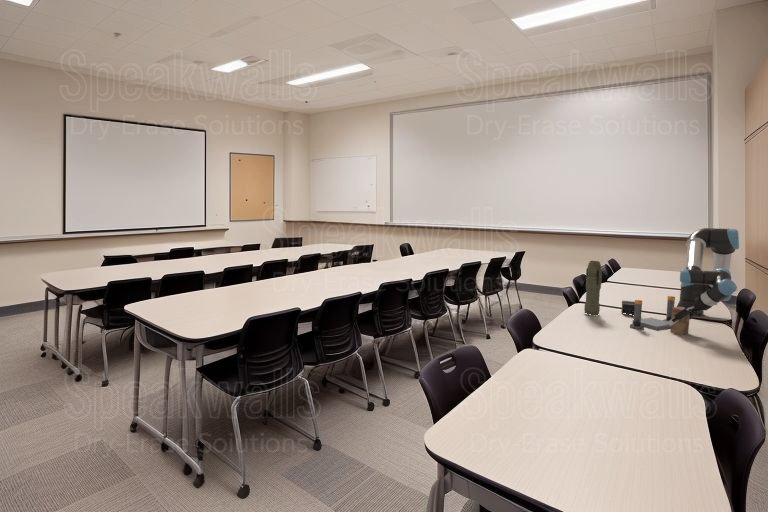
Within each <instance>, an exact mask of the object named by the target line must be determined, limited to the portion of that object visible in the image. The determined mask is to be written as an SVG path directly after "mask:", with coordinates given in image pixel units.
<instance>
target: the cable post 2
mask: <svg viewBox="0 0 768 512" xmlns="http://www.w3.org/2000/svg"><path fill="white" fill-rule="evenodd" d="M666 299H667V302H666V303H667V304H666V315H665V316H666V317H665V319H662V320H663V321H667V322H668V321H670V320H671V317H672V316H671V315H672V307H675V305H676V303H675V302H676V301H675V300H676V296H673V295H672V296H671V295H668V296H667V298H666Z"/></svg>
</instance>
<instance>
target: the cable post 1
mask: <svg viewBox="0 0 768 512" xmlns="http://www.w3.org/2000/svg"><path fill="white" fill-rule="evenodd" d="M634 302H635V308H634V316H633V320H634V322H633V321H632V323H631V324H629V328H631V329H633V330H644V328H645V327H644V326H642V325H641V319H642V310H643V308H642V307H643V300H639V299H635V300H634Z"/></svg>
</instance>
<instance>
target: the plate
mask: <svg viewBox="0 0 768 512" xmlns="http://www.w3.org/2000/svg"><path fill="white" fill-rule="evenodd" d="M663 320H664V319H658V318H655V317H645V318H641V325H642V326H644V328H646V329H647V328H648V329H651V330H655V331H656V330H657V331H658V330H664V329H665V328H666V329H671V328H670V327H671V326H670V325H669V323H668V322H667V321H663ZM633 322H634V319H632V323H633Z"/></svg>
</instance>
